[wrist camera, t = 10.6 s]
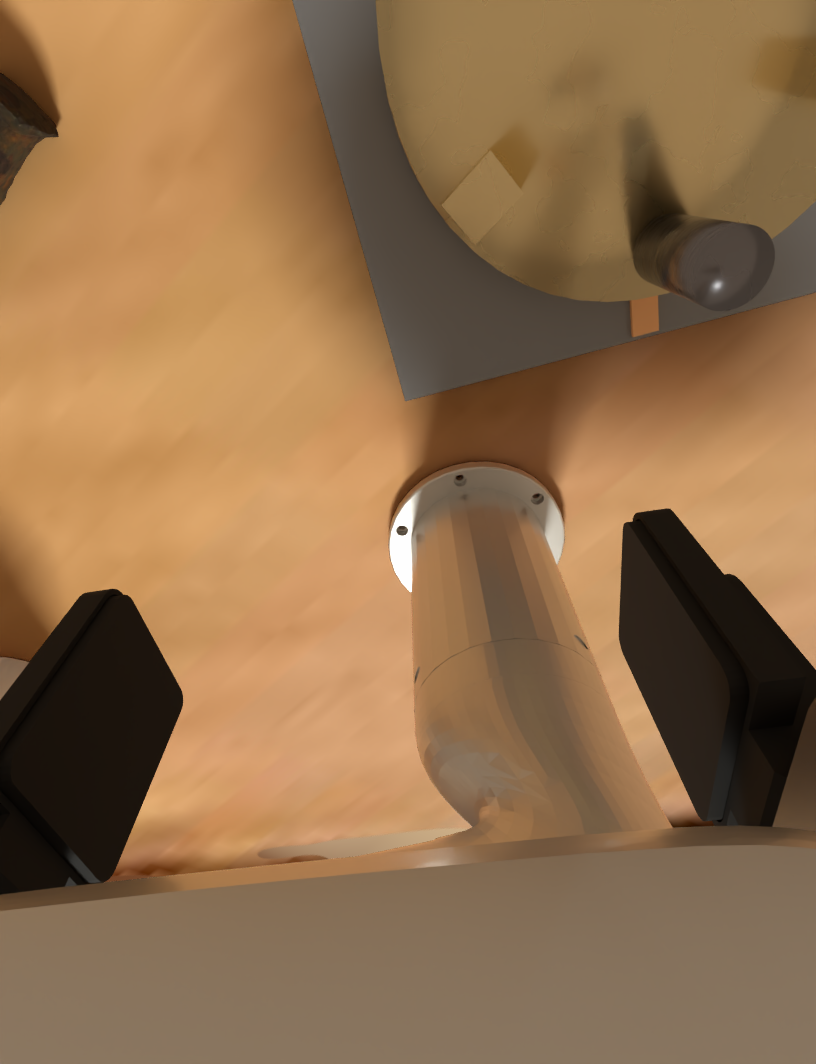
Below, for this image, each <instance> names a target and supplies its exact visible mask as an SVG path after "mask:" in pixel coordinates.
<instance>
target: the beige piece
mask: <svg viewBox="0 0 816 1064" xmlns="http://www.w3.org/2000/svg"><path fill="white" fill-rule="evenodd" d="M376 14H377V28H378V41H379V52H380V58H381V63H382V69H383V75H384V80H385V86H386V92H387V97H388V102H389V106H390V109H391V113H392V116H393V120H394V123H395V127H396V130H397V134H398V137H399V140H400V142H401V145H402V147H403V149H404V152H405V154H406V157H407V159H408V161H409V164H410V166H411V169H412V171H413V173H414V174H415V176H416V178H417V180H418V181H419V183H420V185H421V187H422V189H423V190H424V192H425V194H426V196H427V197H428V199H429V200H430V202H431V203H432V204H433V206H434V207H435V209H436V210H437V211H438V213H439V214H440V215H441V217H442V218H443V219H444V221H445V222H446V223H447V224H448V226H449V227H450V228H451V229H452V230H453V231H454V232H455V233H456V234H457V235H458V236H459V237H460V238H461V239H462V240H463V241H464V242H465V243H466V244H467V245H468V246H469V247H470V248H471V249H472V250H473V251H474V252H475V253H476V254H477V255H479V256H480V257H481V258H483V259H484V260H485V261H487V262H488V263H489V264H491V265H492V266H493V267H494V268H496V269H497V270H499V271H500V272H502V273H504V274H506V275H508V276H509V277H511V278H513V279H515V280H517V281H518V282H520V283H522V284H524V285H527V286H529V287H532V288H535V289H537V290H540V291H543V292H545V293H548V294H551V295H556V296H561V297H565V298H570V299H575V300H582V301H598V302H615V301H628V300H638V299H643V298H648V297H653V296H657V295H662V294H667V293H670V292H671V293H674V294H676V295H678V296H680V297H683V298H685V299H687V300H689V301H692V302H694V303H696V304H698V305H700V306H703V307H705V308H707V309H710V310H713V311H721V312H722V311H730V310H733V309H736V308H739V307H741V306H743V305H744V304H746V303H748V302H749V301H750V300H752V299H753V298H754V297H755V296H756V295H757V294H758V293H759V292H760V291H761V290H762V288H763V287H764V286H765V284H766V283H767V281H768V279H769V277H770V275H771V272H772V270H773V266H774V261H775V249H774V245H773V242H772V239H773V238H774V237H775V236H777V235H778V234H779V233H781V232H782V231H783V230H785V229H786V228H787V227H788V226H789V225H790V224H792V223H793V222H794V221H795V220H796V219H797V218H798V217H799V216H800V215H801V214H802V213H803V212H805V211H806V210H807V209H808V208H809V207H810V206H811V205H812V204H813V203H814V202H815V201H816V0H376Z"/></svg>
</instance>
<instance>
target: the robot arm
mask: <svg viewBox="0 0 816 1064" xmlns="http://www.w3.org/2000/svg"><path fill="white" fill-rule="evenodd" d="M458 475H462V477H460V478H458V477H456V476H458ZM536 493H538V494H537V495H534V494H536ZM400 525H404V526H400ZM564 542H565V526H564V522H563V519H562V515H561V512H560V510H559V507H558V505H557V503H556V501H555V499H554V498H553V497H552V495H551V494H550V492H549V491H548V489H547V488H546V487H545V486H544V485H543V484H541V483H540V482H539V481H538V480H537V479H536V478H535V477H533V476H531V475H530V474H528V473H526V472H524V471H523V470H521V469H518V468H515V467H512V466H509V465H506V464H501V463H495V462H488V461H486V462H467V463H462V464H457V465H452V466H450V467H447V468H445V469H442V470H439V471H437V472H435V473H433V474H431V475H430V476H428V477H426V478H425V479H423V480H422V481H420V482H419V483H418V484H417V485H416V486H415V487H413V488H412V489H411V490H410V491H409V492H408V493H407V494H406V496H405V497H404V498H403V500H402V501H401V502H400V504H399V505H398V507H397V509H396V512H395V514H394V516H393V518H392V522H391V526H390V530H389V544H388V546H389V555H390V560H391V563H392V566H393V569H394V572H395V573H396V575H397V577H398V578H399V580H400V581H401V583H402V584H403V585H404V586H405V587H406V588H407V589H408V590H409V591H410V592H411V601H412V641H413V680H414V713H415V734H416V742H417V748H418V751H419V755H420V758H421V761H422V764H423V766H424V768H425V770H426V772H427V774H428V776H429V778H430V780H431V781H432V783H433V784H434V786H435V787H436V788H437V790H438V791H439V793H440V794H441V795H442V796H443V798H444V799H445V800H446V801H447V802H448V803H449V804H450V805H451V806H452V807H453V809H454V810H455V811H456V812H457V813H458V814H459V815H460V816H461V817H462V818H463V819H464V820H466V821H467V822H468V823H469V824H470V825H471V826H472V828H470V829H468V830H466V831H462V832H458V833H455V834H451V835H447V836H443V837H439V838H436V839H435V840H432V841H428V842H423V843H419V844H413V845H409V846H404V847H399V848H394V849H390V850H385V851H380V852H376V853H371V854H367V855H362V856H356V857H347V858H336V859H326V860H316V861H306V862H297V863H287V864H277V865H267V866H257V867H247V868H238V869H228V870H218V871H208V872H199V873H189V874H180V875H171V876H161V877H152V878H143V879H133V880H124V881H115V882H105V881H107V880H108V879H109V878H110V877H111V876H112V875H113V873H114V871H115V869H116V866H117V864H118V862H119V859H120V857H121V854H122V852H123V850H124V847H125V845H126V842H127V840H128V837H129V835H130V833H131V830H132V828H133V825H134V823H135V821H136V818H137V816H138V813H139V811H140V809H141V806H142V804H143V801H144V799H145V796H146V794H147V792H148V789H149V787H150V784H151V782H152V780H153V777H154V775H155V772H156V770H157V768H158V765H159V763H160V760H161V758H162V755H163V753H164V751H165V748H166V746H167V743H168V741H169V739H170V736H171V734H172V731H173V729H174V726H175V724H176V722H177V719H178V717H179V714H180V712H181V709H182V706H183V695H182V691H181V688H180V687H179V685H178V683H177V681H176V679H175V677H174V676H173V674H172V672H171V670H170V668H169V666H168V665H167V663H166V661H165V659H164V657H163V655H162V654H161V652H160V650H159V648H158V646H157V644H156V643H155V641H154V639H153V637H152V635H151V633H150V632H149V630H148V628H147V626H146V624H145V622H144V621H143V619H142V617H141V615H140V613H139V611H138V610H137V608H136V606H135V604H134V602H133V600H132V599H131V598H130V597H129V596H128V595H123V594H122V593H121V592H120V591H119V590H117V589H109V590H102V591H95V592H88V593H84V594H82V595H81V596H80V597H79V598H78V600H77V601H76V602H75V603H74V605H73V606H72V607H71V609H70V610H69V611H68V613H67V614H66V615H65V616H64V618H63V619H62V620H61V622H60V623H59V624H58V626H57V627H56V628H55V629H54V631H53V632H52V633H51V635H50V636H49V637H48V639H47V640H46V641H45V642H44V644H43V645H42V646H41V648H40V649H39V650H38V652H37V653H36V654H35V655H34V657H33V658H32V659H31V661H30V662H29V663H28V665H27V666H26V667H25V668H24V670H23V671H22V672H21V674H20V675H19V676H18V678H17V679H16V680H15V681H14V683H13V684H12V685H11V687H10V688H9V689H8V691H7V692H6V693H5V694H4V696H3V697H2V698H1V700H0V1064H816V670H815V668H814V667H813V666H812V665H811V664H810V663H809V661H808V660H807V659H806V658H805V657H804V655H803V654H802V653H801V652H800V651H799V649H798V648H797V647H796V646H795V645H794V643H793V642H792V641H791V640H790V639H789V637H788V636H787V635H786V634H785V633H784V632H783V630H782V629H781V628H780V627H779V626H778V624H777V623H776V622H775V621H774V620H773V618H772V617H771V616H770V615H769V614H768V612H767V611H766V610H765V609H764V608H763V606H762V605H761V604H760V603H759V602H758V601H757V599H756V598H755V597H754V596H753V595H752V593H751V592H750V591H749V590H748V589H747V587H746V586H745V585H744V584H743V583H742V581H740V580H739V579H738V578H737V577H736V576H734V575H731V574H726V575H724V574H723V573H722V571H721V570H720V569H719V568H718V567H717V565H716V564H715V563H714V562H713V560H712V559H711V558H710V557H709V555H708V554H707V553H706V552H705V550H704V549H703V548H702V547H701V546H700V544H699V543H698V542H697V541H696V539H695V538H694V537H693V536H692V534H691V533H690V532H689V531H688V529H687V528H686V527H685V526H684V525H683V523H682V522H681V521H680V520H679V518H678V517H677V516H676V515H675V513H674V512H673V511H672V510H671V509H660V510H653V511H646V512H639V513H636V514H635V515H634V517H633V522H626V523H625V524H624V526H623V541H622V567H621V592H620V617H619V640H620V645H621V649H622V652H623V655H624V657H625V659H626V661H627V663H628V665H629V668H630V670H631V672H632V674H633V676H634V678H635V680H636V683H637V685H638V687H639V689H640V691H641V693H642V696H643V698H644V700H645V702H646V704H647V706H648V709H649V711H650V713H651V715H652V717H653V719H654V721H655V724H656V726H657V728H658V730H659V732H660V734H661V737H662V739H663V741H664V743H665V745H666V747H667V750H668V752H669V754H670V756H671V758H672V760H673V762H674V765H675V767H676V769H677V771H678V773H679V775H680V778H681V780H682V782H683V784H684V786H685V788H686V791H687V793H688V795H689V797H690V799H691V801H692V804H693V806H694V808H695V810H696V812H697V814H698V816H699V817H700V818H701V819H702V820H703V821H711V820H712V821H713V823H714V825H715V826H708V827H678V828H672V826H671V824H670V822H669V821H668V819H667V817H666V816H665V814H664V812H663V810H662V809H661V807H660V805H659V803H658V801H657V799H656V797H655V796H654V794H653V792H652V790H651V788H650V786H649V784H648V783H647V781H646V779H645V777H644V774H643V772H642V770H641V768H640V766H639V764H638V762H637V760H636V758H635V756H634V753H633V751H632V749H631V747H630V745H629V742H628V740H627V738H626V735H625V733H624V731H623V728H622V726H621V724H620V721H619V719H618V717H617V714H616V712H615V709H614V707H613V704H612V702H611V699H610V697H609V694H608V692H607V689H606V687H605V685H604V682H603V680H602V677H601V675H600V672H599V670H598V667H597V665H596V662H595V660H594V657H593V655H592V652H591V650H590V647H589V645H588V642H587V639H586V637H585V634H584V632H583V629H582V627H581V624H580V622H579V619H578V617H577V614H576V612H575V609H574V607H573V604H572V602H571V599H570V597H569V594H568V592H567V589H566V587H565V584H564V582H563V579H562V577H561V574H560V572H559V569H558V567H557V565H558V562H559V560H560V558H561V555H562V552H563V547H564ZM104 882H105V883H104Z"/></svg>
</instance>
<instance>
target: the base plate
mask: <svg viewBox="0 0 816 1064" xmlns="http://www.w3.org/2000/svg"><path fill="white" fill-rule="evenodd" d="M292 1H293V4H294V8H295V12H296V15H297V19H298V22H299V26H300V29H301V33H302V36H303V40H304V43H305V47H306V51H307V54H308V58H309V61H310V65H311V68H312V72H313V75H314V79H315V82H316V86H317V89H318V93H319V97H320V100H321V104H322V107H323V111H324V114H325V118H326V121H327V125H328V128H329V132H330V136H331V139H332V143H333V146H334V150H335V153H336V157H337V160H338V164H339V167H340V171H341V175H342V178H343V182H344V185H345V189H346V192H347V196H348V199H349V203H350V206H351V210H352V214H353V217H354V221H355V224H356V228H357V231H358V235H359V238H360V242H361V245H362V249H363V253H364V256H365V260H366V263H367V267H368V270H369V274H370V277H371V281H372V284H373V288H374V292H375V295H376V299H377V302H378V306H379V309H380V313H381V316H382V320H383V323H384V327H385V331H386V334H387V338H388V341H389V345H390V348H391V352H392V355H393V359H394V362H395V366H396V369H397V373H398V377H399V380H400V384H401V387H402V391H403V394H404V398H405V401H409V400H412V399H416V398H420V397H424V396H427V395H431V394H435V393H439V392H443V391H446V390H450V389H454V388H458V387H461V386H465V385H469V384H473V383H476V382H480V381H484V380H488V379H491V378H495V377H499V376H503V375H507V374H510V373H514V372H518V371H522V370H525V369H529V368H533V367H537V366H540V365H544V364H548V363H552V362H555V361H559V360H563V359H567V358H571V357H574V356H578V355H582V354H586V353H589V352H593V351H597V350H601V349H604V348H608V347H612V346H616V345H619V344H623V343H627V342H631V341H635V340H638V339H642V338H646V337H650V336H653V335H657V334H661V333H665V332H668V331H672V330H676V329H680V328H684V327H687V326H691V325H695V324H699V323H702V322H706V321H710V320H714V319H717V318H721V317H725V316H729V315H732V314H736V313H740V312H744V311H748V310H751V309H755V308H759V307H763V306H766V305H770V304H774V303H778V302H781V301H785V300H789V299H793V298H796V297H800V296H804V295H808V294H812V293H815V292H816V201H815V202H814V203H813V204H812V205H811V206H810V207H809V208H808V209H807V210H806V211H805V212H803V213H802V214H801V215H800V216H799V217H798V218H797V219H796V220H795V221H794V222H793V223H792V224H790V225H789V226H788V227H787V228H786V229H785V230H783V231H782V232H781V233H779V234H778V235H777V236H775V237H774V238H773V239H772V242H773V245H774V249H775V261H774V266H773V270H772V272H771V275H770V277H769V279H768V281H767V283H766V284H765V286H764V287H763V288H762V290H761V291H760V292H759V293H758V294H757V295H756V296H755V297H754V298H753V299H752V300H750V301H749V302H748V303H746V304H744V305H743V306H741V307H739V308H736V309H733V310H730V311H722V312H721V311H713V310H710V309H707V308H705V307H703V306H700V305H698V304H696V303H694V302H692V301H689V300H687V299H685V298H683V297H680V296H678V295H676V294H674V293H671V292H670V293H667V294H662V295H657V296H653V297H648V298H643V299H638V300H628V301H615V302H598V301H582V300H575V299H570V298H565V297H561V296H556V295H551V294H548V293H545V292H543V291H540V290H537V289H535V288H532V287H529V286H527V285H524V284H522V283H520V282H518V281H517V280H515V279H513V278H511V277H509V276H508V275H506V274H504V273H502V272H500V271H499V270H497V269H496V268H494V267H493V266H492V265H491V264H489V263H488V262H487V261H485V260H484V259H483V258H481V257H480V256H479V255H477V254H476V253H475V252H474V251H473V250H472V249H471V248H470V247H469V246H468V245H467V244H466V243H465V242H464V241H463V240H462V239H461V238H460V237H459V236H458V235H457V234H456V233H455V232H454V231H453V230H452V229H451V228H450V227H449V226H448V224H447V223H446V222H445V221H444V219H443V218H442V217H441V215H440V214H439V213H438V211H437V210H436V209H435V207H434V206H433V204H432V203H431V202H430V200H429V199H428V197H427V196H426V194H425V192H424V190H423V189H422V187H421V185H420V183H419V181H418V180H417V178H416V176H415V174H414V173H413V171H412V169H411V166H410V164H409V161H408V159H407V157H406V154H405V152H404V149H403V147H402V145H401V142H400V140H399V137H398V134H397V130H396V127H395V123H394V120H393V116H392V113H391V109H390V106H389V102H388V97H387V92H386V86H385V80H384V75H383V69H382V63H381V58H380V52H379V41H378V28H377V14H376V0H292Z"/></svg>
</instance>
